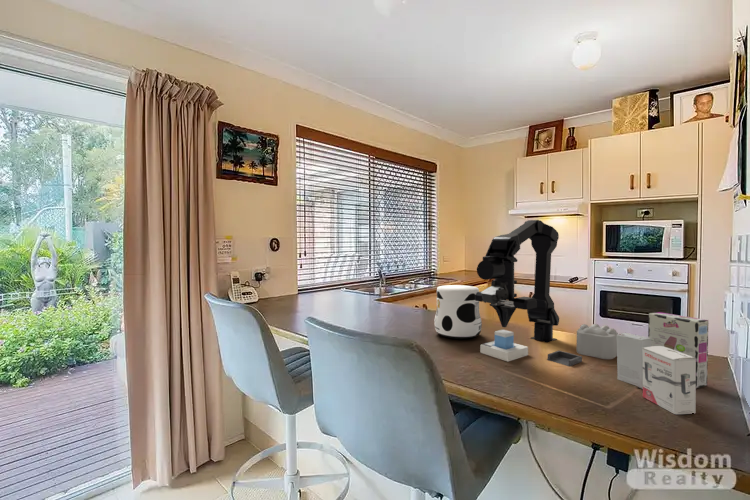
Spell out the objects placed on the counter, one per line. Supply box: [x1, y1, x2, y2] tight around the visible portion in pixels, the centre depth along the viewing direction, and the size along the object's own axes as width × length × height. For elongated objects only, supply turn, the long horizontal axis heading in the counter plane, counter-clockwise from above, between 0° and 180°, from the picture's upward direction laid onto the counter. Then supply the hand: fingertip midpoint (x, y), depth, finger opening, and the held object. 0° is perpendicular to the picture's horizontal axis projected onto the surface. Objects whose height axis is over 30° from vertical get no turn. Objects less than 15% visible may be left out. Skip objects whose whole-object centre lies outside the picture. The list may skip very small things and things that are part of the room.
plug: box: [494, 329, 515, 349], centre depth 112 cm, size 4×4×7 cm
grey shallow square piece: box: [546, 350, 583, 367], centre depth 105 cm, size 7×7×2 cm
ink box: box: [642, 346, 697, 415], centre depth 78 cm, size 9×5×12 cm, turn 5°
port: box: [479, 340, 529, 362], centre depth 112 cm, size 10×10×3 cm
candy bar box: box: [647, 311, 709, 389], centre depth 92 cm, size 11×5×16 cm, turn 22°
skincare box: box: [616, 332, 651, 390], centre depth 89 cm, size 6×4×12 cm
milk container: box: [433, 284, 483, 340], centre depth 134 cm, size 17×17×18 cm
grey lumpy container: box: [576, 323, 619, 360], centre depth 113 cm, size 10×13×9 cm
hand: (504, 327), depth 111 cm, fingers closed
